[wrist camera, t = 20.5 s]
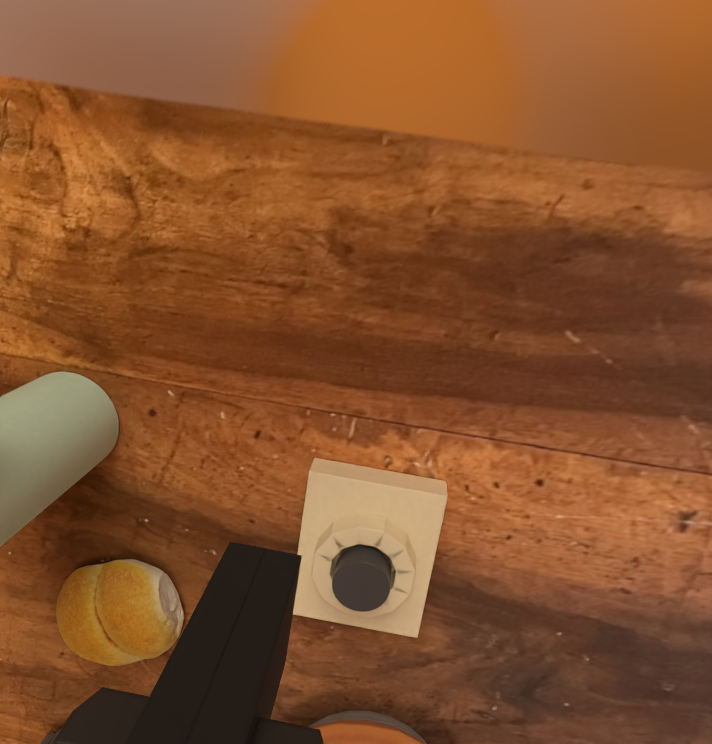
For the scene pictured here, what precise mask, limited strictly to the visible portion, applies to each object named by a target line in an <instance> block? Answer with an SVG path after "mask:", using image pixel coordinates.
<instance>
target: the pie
mask: <svg viewBox="0 0 712 744" xmlns="http://www.w3.org/2000/svg"><path fill="white" fill-rule="evenodd" d="M309 727H310V728H315V729H320V731H321V735H322V739H323V742H324V744H427V743H426V742H425V740H424V739H423V738H422V737H421V736H420V735H419V734H417V733H416V732H415V731H414V730H413V729H412V728H411V727H410V726H408V725H407V724H405V723H403V722H401V721H399V720H397V719H395V718H393V717H391V716H389V715H385V714H381V713H377V712H373V711H359V710H348V711H344V712H339V713H335V714H330V715H328V716H326V717H324V718H322V719H320V720H318V721H316V722H315V723H313V724H311V725H310V726H309Z"/></svg>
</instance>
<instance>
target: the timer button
mask: <svg viewBox="0 0 712 744" xmlns="http://www.w3.org/2000/svg"><path fill="white" fill-rule="evenodd" d="M390 583H391V567H390V564H389V562H388V560H387V559H386V557H385V556H384V555H383V554H382V553H380V552H379V551H377V550H375V549H373V548H370V547H364V546H359V547H353V548H351V549H348V550H347V551H345V552H344V553H343V554H341V556H340V557H339V558H338V560H337V562H336V566H335V570H334V575H333V580H332V589H333V593H334V595H335V597H336V598H337V600H338V601H339V602H340V603H341V604H342V605H343V606H345V607H347V608H349V609H351V610H354V611H360V612H366V611H371V610H374V609H377V608H378V607H380V606H381V605H382V604H383V603H384V602H385V601H386V600H387V598H388V596H389V593H390Z"/></svg>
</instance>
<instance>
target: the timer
mask: <svg viewBox="0 0 712 744" xmlns="http://www.w3.org/2000/svg"><path fill="white" fill-rule="evenodd" d="M447 498H448V494H447V485H446V481H443V480H437V479H432V478H426V477H420V476H415V475H409V474H404V473H398V472H392V471H387V470H381V469H375V468H370V467H364V466H359V465H353V464H347V463H342V462H336V461H330V460H325V459H319V458H314V460H313V462H312V465H311V468H310V470H309V475H308V482H307V489H306V496H305V504H304V511H303V518H302V525H301V532H300V540H299V547H298V554H297V555H301V556H302V558H301V564H300V571H299V577H298V584H297V590H296V596H295V603H294V609H293V614H294V615H299V616H305V617H310V618H315V619H320V620H325V621H331V622H336V623H341V624H346V625H352V626H357V627H362V628H367V629H373V630H378V631H383V632H388V633H394V634H399V635H404V636H409V637H415V638H417V637H418V633H419V628H420V624H421V619H422V614H423V610H424V605H425V600H426V596H427V591H428V586H429V582H430V577H431V572H432V568H433V563H434V558H435V554H436V549H437V544H438V540H439V535H440V530H441V526H442V521H443V516H444V512H445V507H446V502H447ZM359 546H364V547H370V548H373V549H375V550H377V551H379V552H380V553H382V554H383V555H384V556H385V557H386V559H387V560H388V562H389V564H390V567H391V583H390V593H389V596H388V598H387V600H386V601H385V602H384V603H383V604H382V605H381V606H380V607H378V608H377V609H374V610H371V611H366V612H360V611H354V610H351V609H349V608H347V607H345V606H343V605H342V604H341V603H340V602H339V601H338V600H337V598H336V597H335V595H334V593H333V589H332V580H333V575H334V570H335V566H336V562H337V560H338V558H339V557H340V556H341V554H343V553H344V552H345V551H347V550H348V549H351V548H353V547H359Z"/></svg>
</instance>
